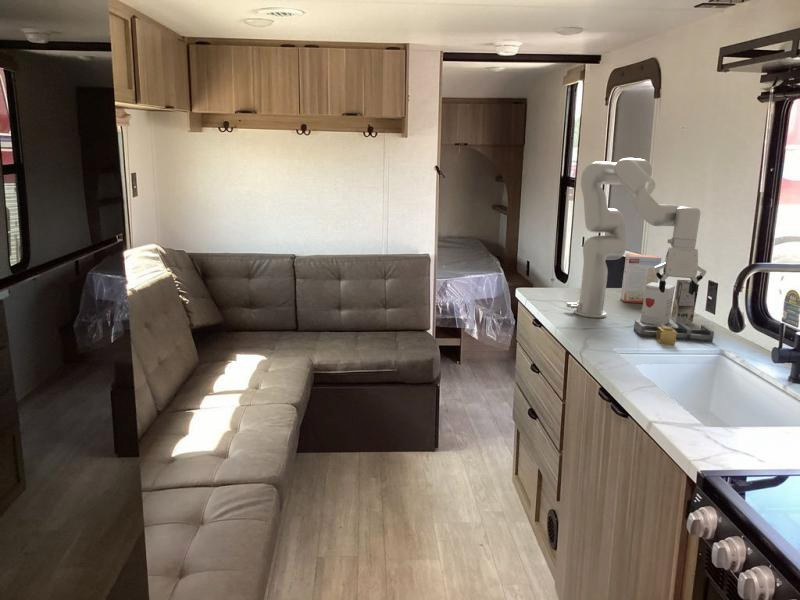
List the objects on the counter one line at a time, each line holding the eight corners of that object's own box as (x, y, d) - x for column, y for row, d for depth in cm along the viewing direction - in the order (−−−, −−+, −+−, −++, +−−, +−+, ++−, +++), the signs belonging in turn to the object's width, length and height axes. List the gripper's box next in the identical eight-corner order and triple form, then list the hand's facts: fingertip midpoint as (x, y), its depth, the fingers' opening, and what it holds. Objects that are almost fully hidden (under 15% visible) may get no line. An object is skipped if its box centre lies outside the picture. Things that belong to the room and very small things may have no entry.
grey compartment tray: (640, 336, 230) (641, 326, 229) (633, 330, 239) (635, 319, 238) (712, 342, 228) (714, 331, 227) (702, 335, 237) (704, 324, 236)
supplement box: (639, 321, 252) (644, 284, 248) (646, 317, 259) (651, 281, 255) (663, 326, 246) (669, 288, 243) (669, 322, 253) (675, 285, 250)
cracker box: (650, 301, 290) (657, 255, 285) (655, 304, 284) (662, 257, 279) (619, 299, 290) (625, 253, 285) (623, 302, 284) (630, 255, 280)
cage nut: (659, 344, 222) (662, 328, 221) (655, 340, 227) (657, 325, 226) (674, 345, 222) (676, 329, 221) (669, 341, 227) (672, 326, 226)
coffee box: (692, 325, 252) (699, 284, 248) (675, 323, 253) (681, 283, 249) (687, 319, 260) (694, 280, 256) (670, 317, 261) (676, 278, 258)
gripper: (660, 243, 216) (653, 293, 220) (714, 246, 214) (706, 297, 218) (654, 240, 223) (647, 289, 227) (706, 243, 221) (698, 292, 225)
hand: (676, 292), depth 222 cm, fingers open, 9 cm apart
